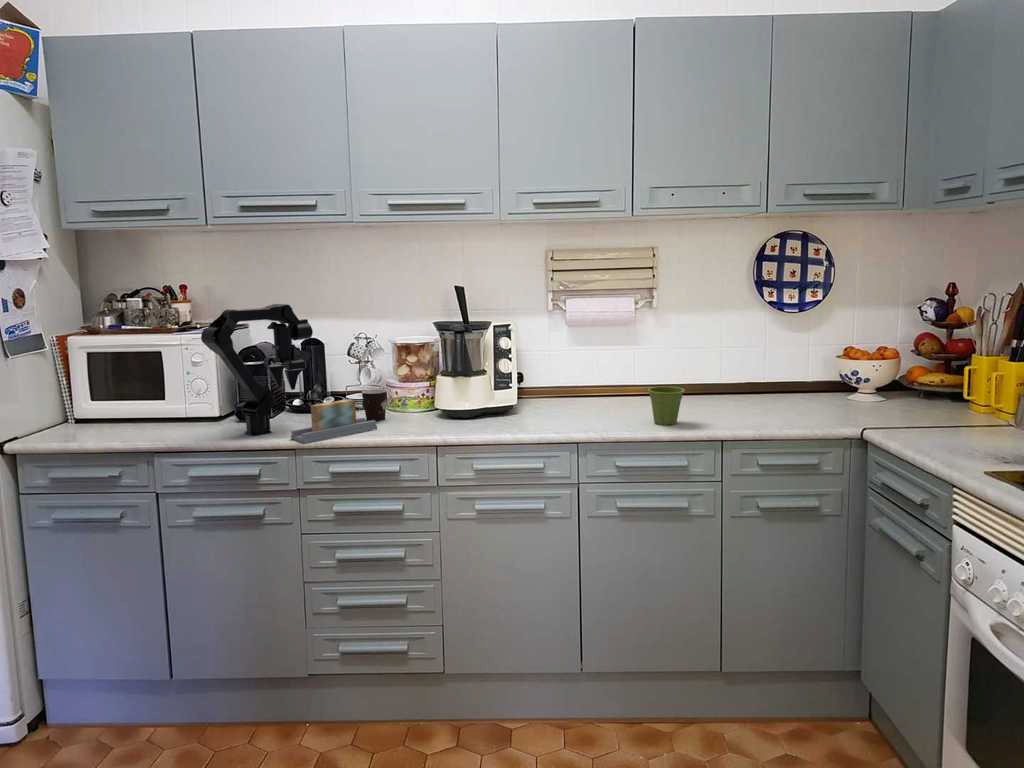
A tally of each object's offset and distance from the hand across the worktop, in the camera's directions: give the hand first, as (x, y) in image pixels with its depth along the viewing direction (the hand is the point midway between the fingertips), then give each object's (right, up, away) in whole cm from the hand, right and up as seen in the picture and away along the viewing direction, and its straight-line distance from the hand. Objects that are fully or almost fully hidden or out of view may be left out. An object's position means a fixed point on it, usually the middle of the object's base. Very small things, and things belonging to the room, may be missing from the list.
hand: (286, 388), depth 259 cm
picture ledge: (+19, -15, -12) cm, 27 cm away
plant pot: (+126, -12, -7) cm, 127 cm away
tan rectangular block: (+19, -13, -12) cm, 26 cm away
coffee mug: (+27, -11, +8) cm, 31 cm away
